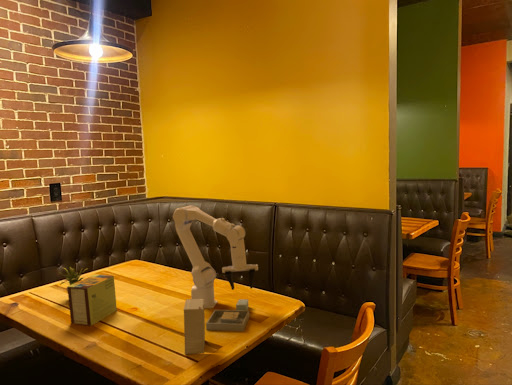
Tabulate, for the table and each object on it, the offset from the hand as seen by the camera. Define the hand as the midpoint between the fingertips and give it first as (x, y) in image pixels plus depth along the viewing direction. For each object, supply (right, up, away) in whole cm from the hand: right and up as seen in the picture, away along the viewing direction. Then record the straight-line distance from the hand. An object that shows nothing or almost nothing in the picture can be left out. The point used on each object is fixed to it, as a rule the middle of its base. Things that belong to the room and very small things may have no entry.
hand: (242, 288), depth 153 cm
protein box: (-61, -13, +2) cm, 63 cm away
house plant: (-80, -11, +23) cm, 84 cm away
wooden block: (-4, -11, -12) cm, 16 cm away
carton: (0, -10, +1) cm, 10 cm away
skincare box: (-15, -14, -27) cm, 33 cm away
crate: (-5, -11, -10) cm, 16 cm away
